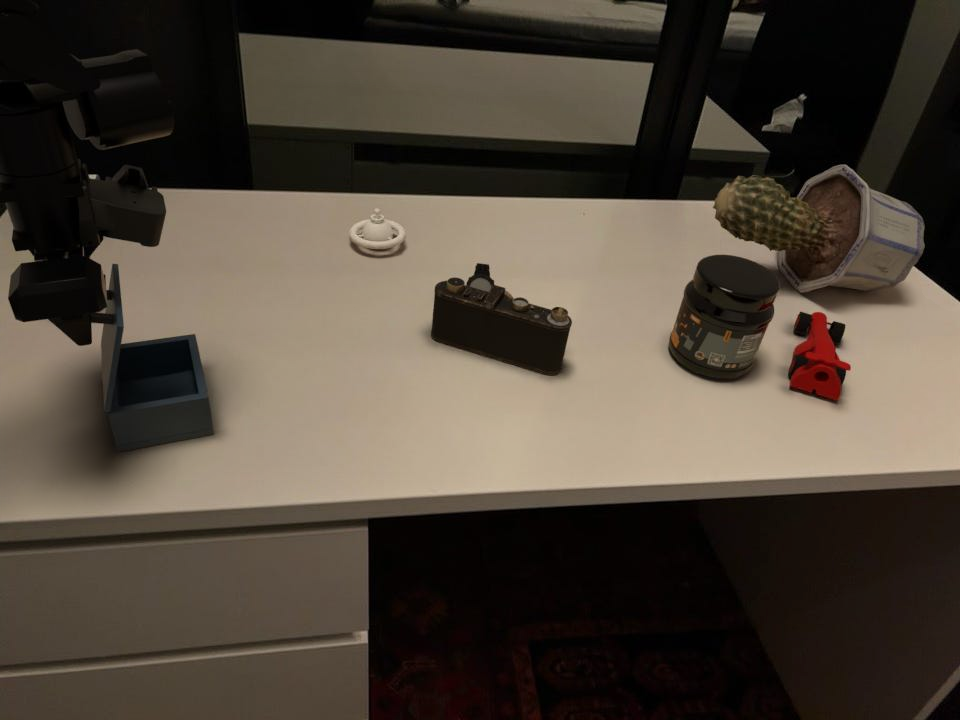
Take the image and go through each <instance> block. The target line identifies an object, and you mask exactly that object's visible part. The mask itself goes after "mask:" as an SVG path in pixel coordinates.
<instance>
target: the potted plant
mask: <svg viewBox="0 0 960 720" xmlns="http://www.w3.org/2000/svg"><path fill="white" fill-rule="evenodd" d="M712 209H714V210H715V215H714V219H715V220H716V221H718V222H719V225H720V227H721V229H724V230H725V231H727V232H728V233H729V234H730V235H732V236H733V237H734V238H735V239H739V240H743V241H744V242H754V243H755V244H757V245H761V246H763V245H764V246H765V247H766V248H767V249H768V250H769V252H772V251H775V252H778V254H777V258H778V259H777V260H778V261H777V262H778V269H779V271H780V272H781V273H782V274H783V276H785V279H786V280H788V282H789V284H790V285H791V286H792V287H793V288H794V289H795V290H796V291H798V292H799V293H808V292H812V291H814V290H817V289H822V288H825V287H827V286H828V287H837V288H845V289H850V290H851V289H852V290H857V291H862V292H863V291H865V292H876V291H882V290H885V289H890V288H894V287H896V286H897V285H899V284H901V283H902V282H904V281H905V280H906V279H907V277H908V275H909V274H910V272H911V271H912V269H913V267H914V266H915V265H916V264H917V263H918V262H919V260H920V259H921V257H922V255H923V254H924V250H925V247H926V245H925V241H924V237H925V236H924V235H925V234H924V233H925V227H926V225H925V222H924V219H923V217H922V216H921V214H920V213H919V212H917V210H916V209H915V208H914V207H913V205H911V204H910V203H908V202H907V201H903V200H899V199H897V198H895V197H893V196H890V195H888V194H885V193H883V192H880V191H877V190H875V189H872V188H870V186H869V185H868V183H867V182H865V180H863V179H862V178H861V177H860V176H859V174H857V173H856V172H855V170H854V169H853V168H851V167H849V166H848V165H847V164H838V165H834V166H832V167H830V168H829V169H827V170H825V171H823V172H821V173H818V174H817V175H815V176H813V177H810V178H809V179H808V180H806V181H805V182H804V184H803V186H802V188H801V189H800V191H799V193H797V196H795V197H791V193H790V190H786V188H785V187H784V186H783V185H782V184H780V183H777V182H776V180H775V178H772V177H769V176H765V177H764V176H761V175H757V174H755V175H754V174H752V175H751V176H749V177H745V176H743V175H737V177H736V178H735V179H734V181H732V182H726V184H725V185H724V186H723V188H721V189H720V191H718V193H717V196H716V197H715V198H714V205H713V206H712Z"/></svg>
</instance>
